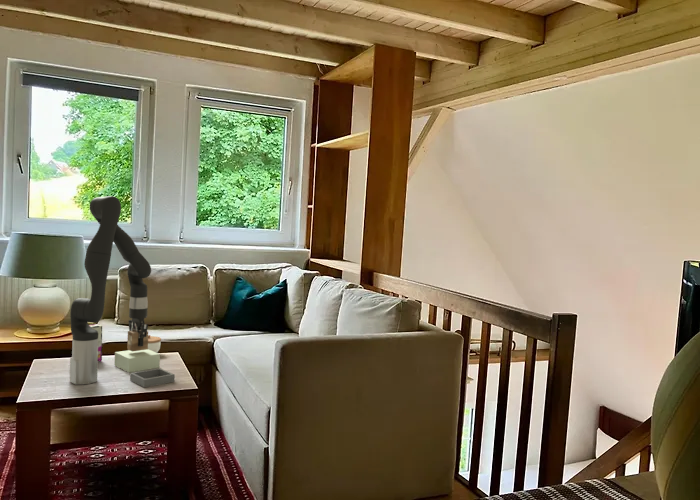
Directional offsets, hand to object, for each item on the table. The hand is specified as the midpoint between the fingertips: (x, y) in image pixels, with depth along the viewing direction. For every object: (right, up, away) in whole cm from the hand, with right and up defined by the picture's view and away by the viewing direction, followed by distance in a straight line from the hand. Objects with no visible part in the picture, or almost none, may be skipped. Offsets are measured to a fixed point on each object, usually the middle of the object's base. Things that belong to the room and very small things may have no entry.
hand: (137, 344), depth 250 cm
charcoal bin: (+13, -11, -20) cm, 26 cm away
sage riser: (0, -10, 0) cm, 10 cm away
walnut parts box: (0, -2, 0) cm, 2 cm away
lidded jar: (-3, -9, +22) cm, 24 cm away
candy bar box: (-24, -9, +3) cm, 26 cm away
